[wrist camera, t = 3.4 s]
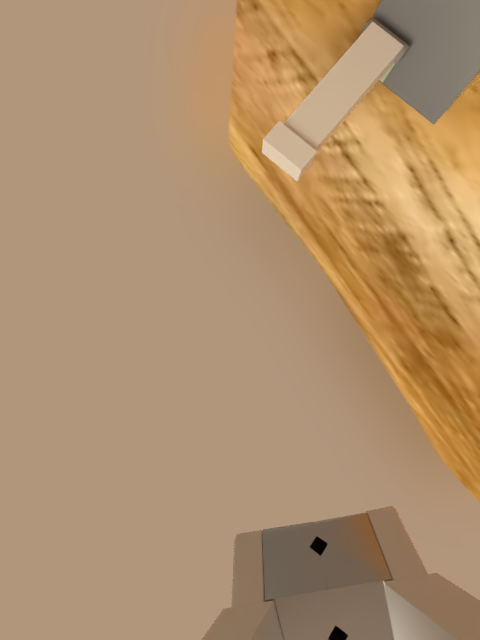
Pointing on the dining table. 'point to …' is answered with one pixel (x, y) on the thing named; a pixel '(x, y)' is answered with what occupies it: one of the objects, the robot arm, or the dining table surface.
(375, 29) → the on lever
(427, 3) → the panel
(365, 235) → the dining table surface
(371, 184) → the dining table surface
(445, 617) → the robot arm
